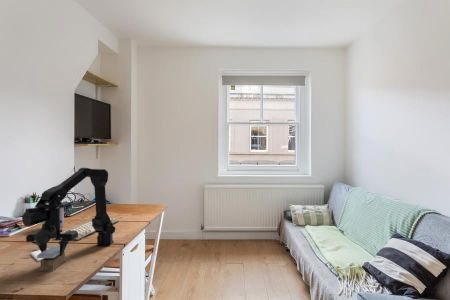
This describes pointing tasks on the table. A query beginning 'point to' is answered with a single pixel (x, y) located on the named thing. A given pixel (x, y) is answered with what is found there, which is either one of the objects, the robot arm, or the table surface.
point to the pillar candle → (62, 217)
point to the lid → (50, 252)
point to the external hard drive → (36, 255)
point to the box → (52, 262)
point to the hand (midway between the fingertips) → (52, 256)
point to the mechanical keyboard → (86, 229)
